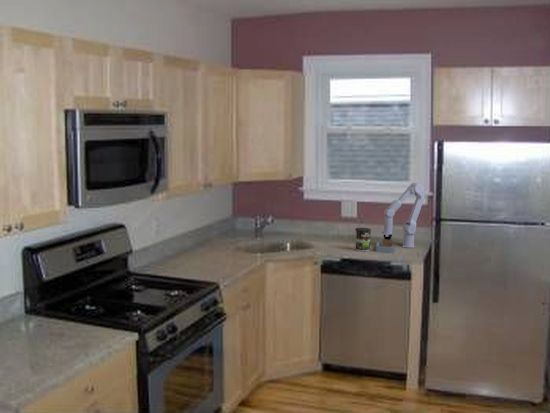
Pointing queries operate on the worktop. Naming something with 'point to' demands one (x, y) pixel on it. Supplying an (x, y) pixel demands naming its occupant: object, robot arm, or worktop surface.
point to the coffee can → (362, 239)
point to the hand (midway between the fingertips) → (387, 245)
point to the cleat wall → (383, 248)
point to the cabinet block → (386, 243)
